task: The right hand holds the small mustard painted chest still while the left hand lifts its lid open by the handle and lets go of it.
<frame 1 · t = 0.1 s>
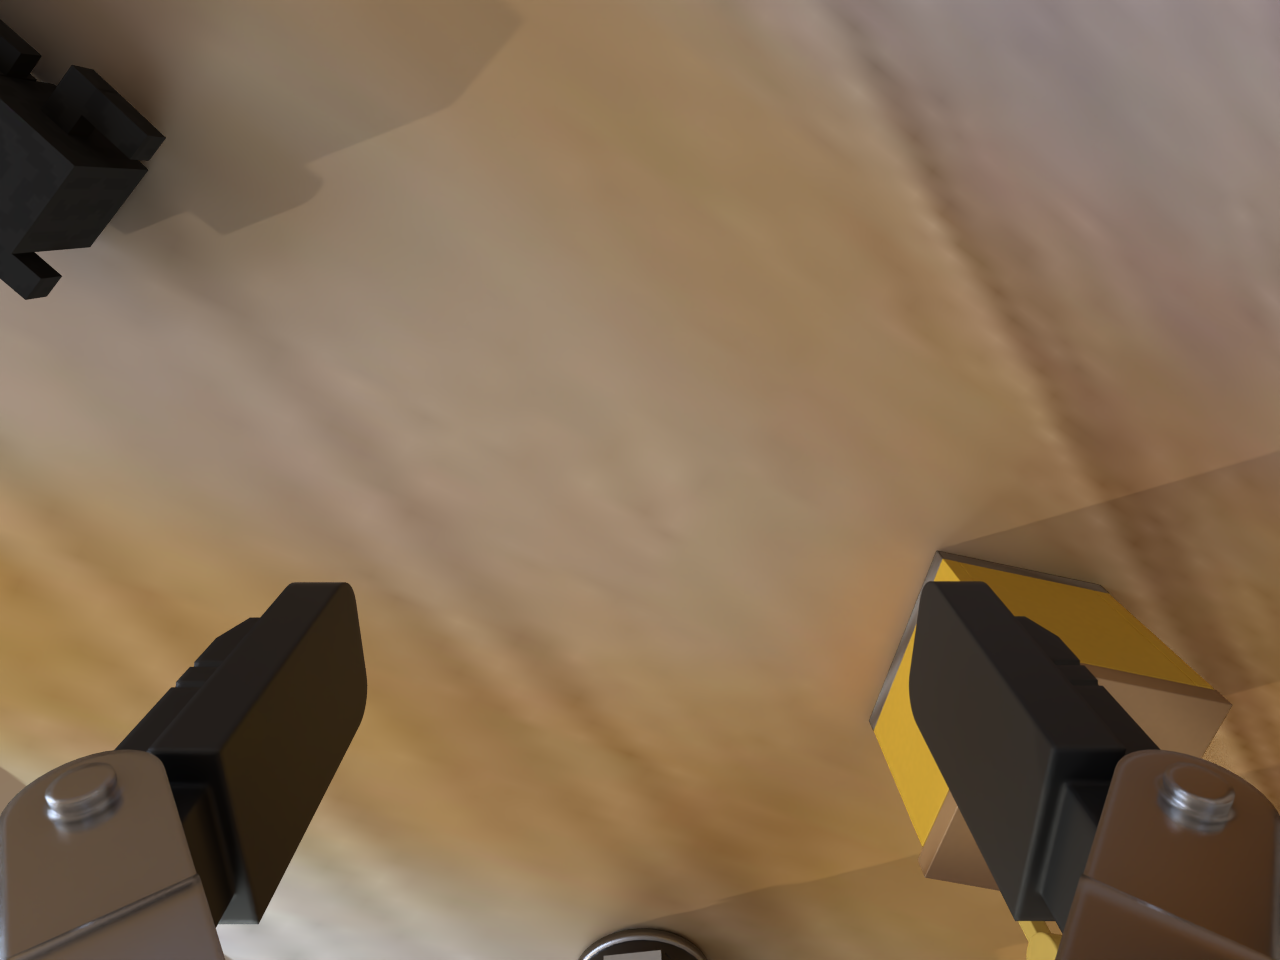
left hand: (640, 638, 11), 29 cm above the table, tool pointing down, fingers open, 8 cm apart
lid: (1111, 852, 33), point 14 cm above the table, hinge at 0.0°
chest: (980, 655, 46), on the table
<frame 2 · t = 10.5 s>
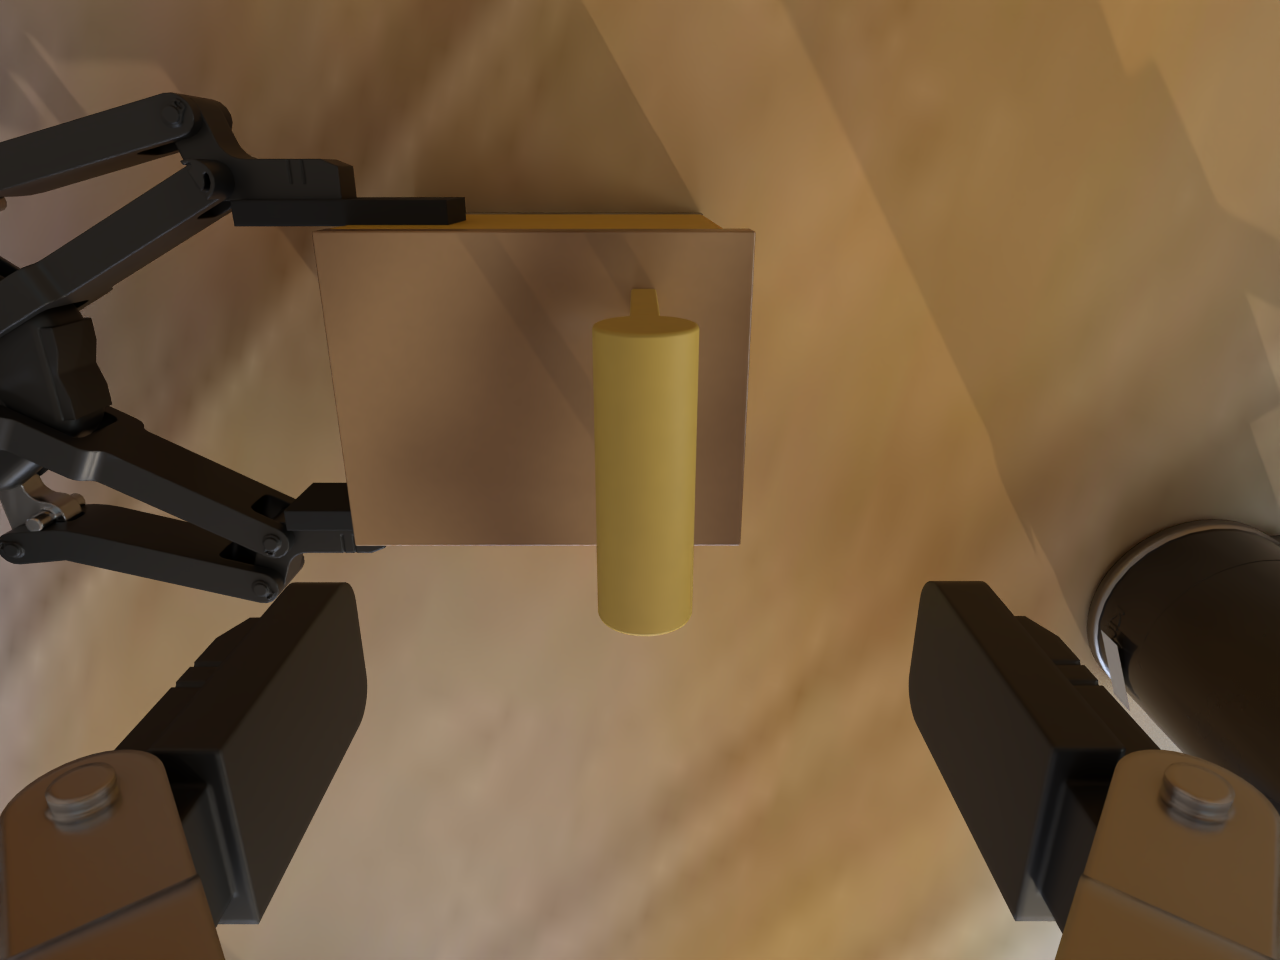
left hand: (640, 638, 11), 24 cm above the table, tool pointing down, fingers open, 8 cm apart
right hand: (468, 368, 27), fingers closed on chest, 9 cm apart
lid: (526, 433, 21), point 14 cm above the table, hinge at 0.0°
chest: (561, 332, 33), on the table, touching right hand
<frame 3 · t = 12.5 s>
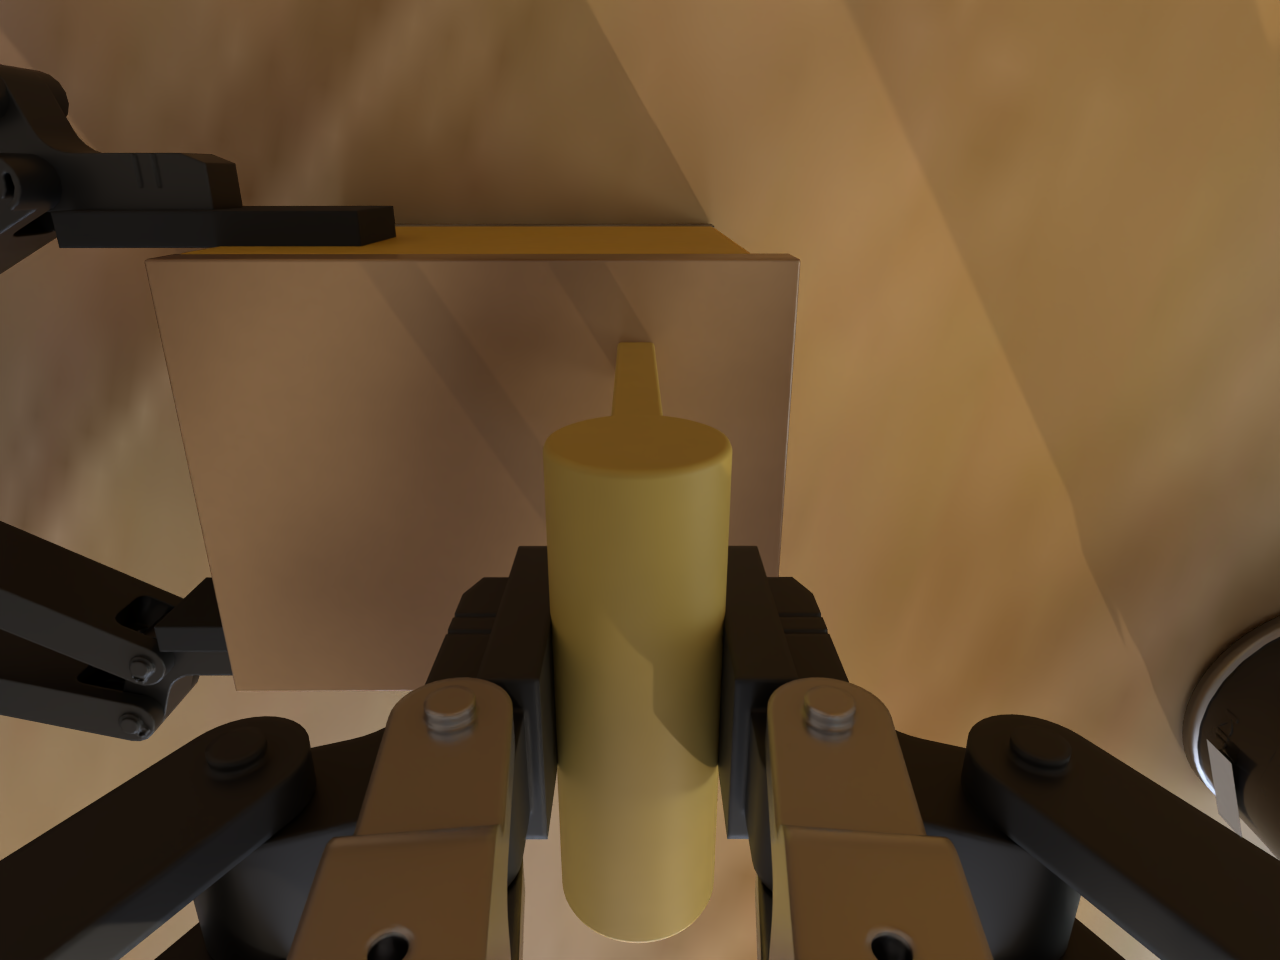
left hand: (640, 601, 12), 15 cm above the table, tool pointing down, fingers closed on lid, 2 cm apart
lid: (457, 570, 13), point 14 cm above the table, hinge at -0.1°, touching left hand
chest: (533, 375, 26), on the table, touching right hand
when the right hand's fingers open (6 cm above the table, at t = 18.9 s): chest stays where it is, on the table.
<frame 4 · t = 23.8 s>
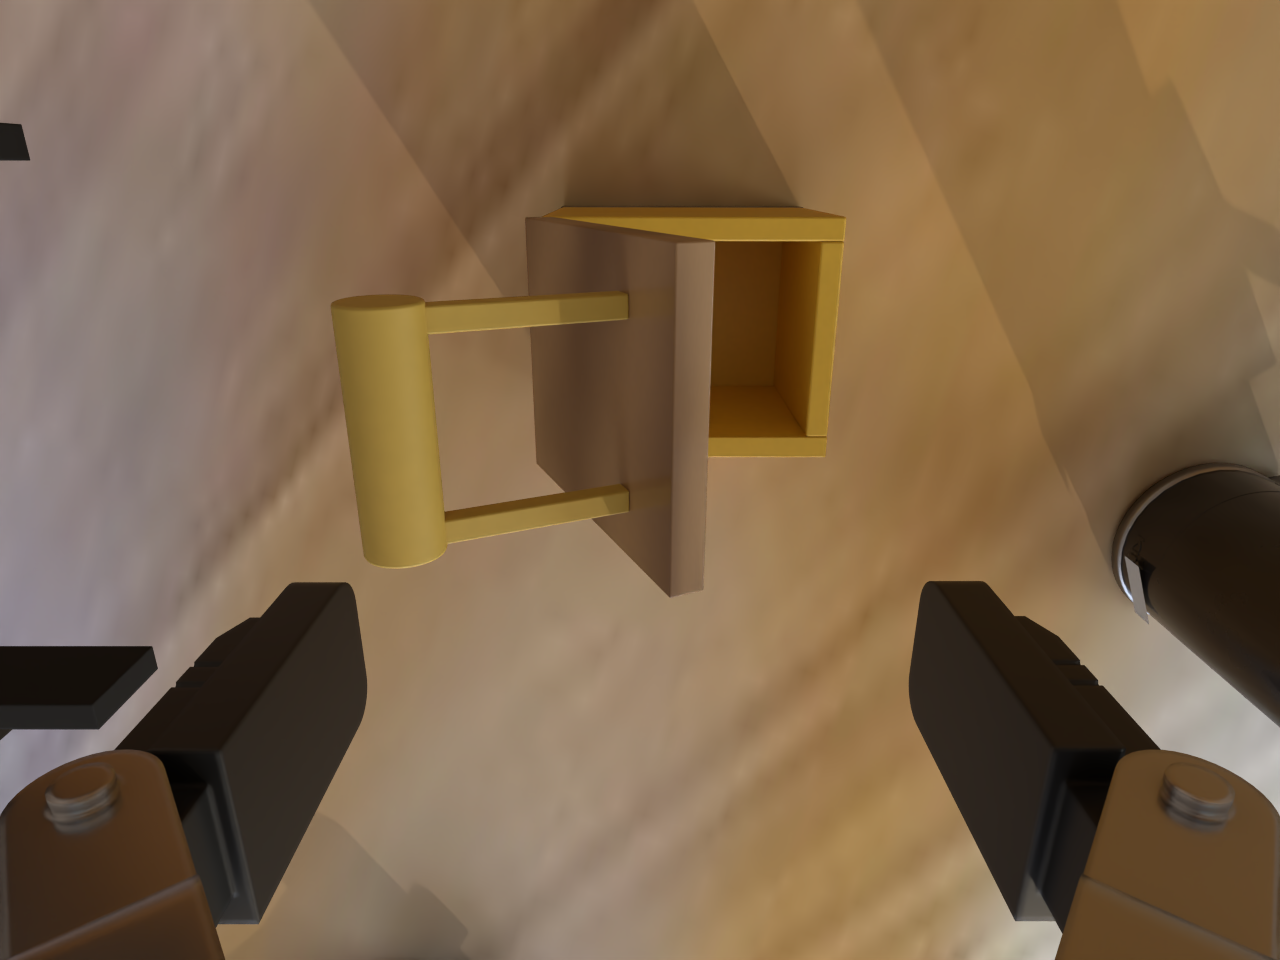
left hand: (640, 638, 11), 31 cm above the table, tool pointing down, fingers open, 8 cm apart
lid: (487, 392, 24), point 17 cm above the table, hinge at 65.6°
chest: (679, 306, 40), on the table
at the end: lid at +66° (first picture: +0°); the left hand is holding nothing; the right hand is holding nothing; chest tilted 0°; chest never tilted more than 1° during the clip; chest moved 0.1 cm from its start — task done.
